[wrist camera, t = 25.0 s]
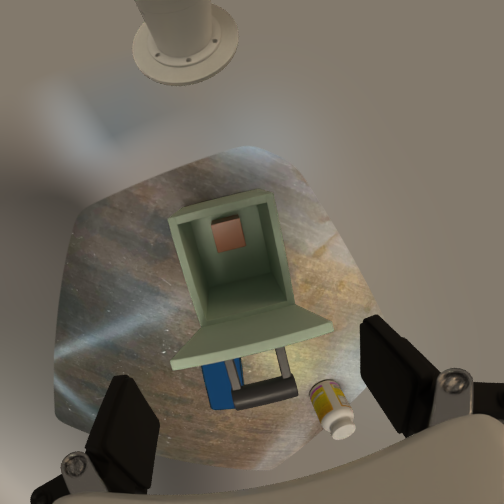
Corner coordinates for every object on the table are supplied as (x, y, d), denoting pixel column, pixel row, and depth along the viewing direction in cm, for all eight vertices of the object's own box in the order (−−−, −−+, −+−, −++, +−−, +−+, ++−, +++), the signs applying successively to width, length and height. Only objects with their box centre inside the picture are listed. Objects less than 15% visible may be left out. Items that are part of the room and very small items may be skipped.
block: (211, 220, 41) (210, 225, 37) (237, 214, 41) (239, 217, 37) (218, 246, 42) (217, 253, 38) (244, 239, 42) (246, 246, 38)
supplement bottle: (308, 403, 54) (325, 446, 42) (309, 382, 52) (328, 426, 40) (336, 397, 55) (357, 437, 42) (339, 376, 53) (363, 417, 40)
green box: (181, 207, 41) (167, 218, 29) (258, 188, 41) (273, 192, 30) (205, 291, 45) (201, 328, 33) (276, 273, 45) (295, 305, 34)
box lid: (169, 360, 18) (193, 428, 18) (332, 321, 19) (346, 391, 18) (200, 327, 33) (213, 371, 32) (295, 303, 33) (306, 348, 33)
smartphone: (211, 410, 51) (198, 355, 46) (211, 407, 52) (198, 352, 47) (246, 407, 51) (240, 352, 47) (246, 404, 52) (239, 349, 48)
